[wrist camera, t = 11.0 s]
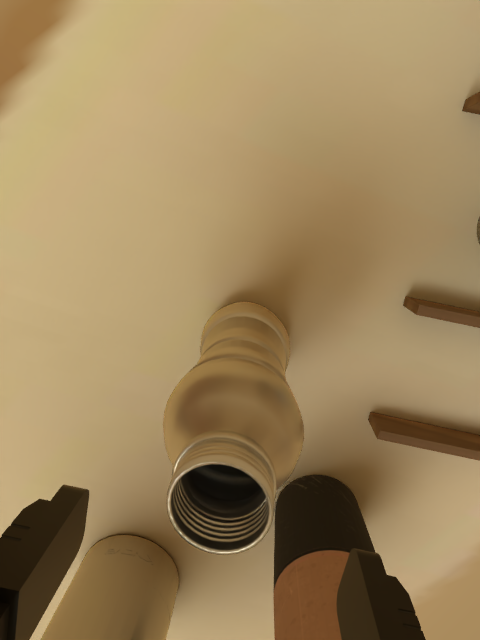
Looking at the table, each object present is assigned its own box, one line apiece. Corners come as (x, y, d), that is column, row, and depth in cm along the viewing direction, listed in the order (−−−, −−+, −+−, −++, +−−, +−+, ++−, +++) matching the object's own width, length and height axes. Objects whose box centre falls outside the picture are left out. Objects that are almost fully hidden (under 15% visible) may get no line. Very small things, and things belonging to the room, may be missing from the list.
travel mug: (370, 537, 37) (483, 890, 18) (286, 555, 38) (305, 908, 19) (348, 462, 35) (446, 760, 16) (261, 483, 36) (254, 788, 17)
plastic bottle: (261, 280, 32) (251, 380, 13) (304, 354, 33) (354, 546, 14) (190, 321, 33) (82, 469, 14) (233, 391, 35) (191, 616, 15)
